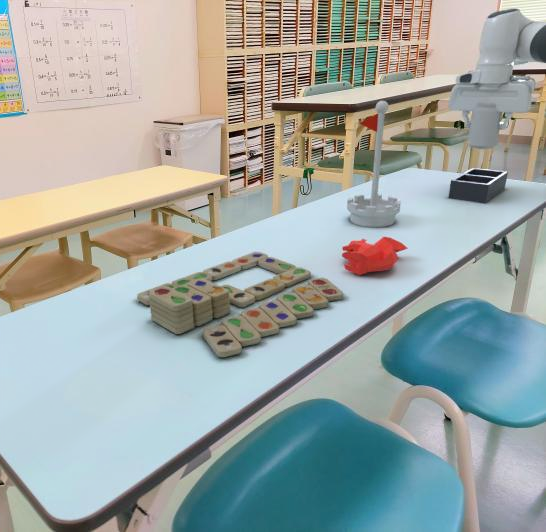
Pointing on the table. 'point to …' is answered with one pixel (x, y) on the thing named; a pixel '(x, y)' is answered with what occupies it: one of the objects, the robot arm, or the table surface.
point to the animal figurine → (372, 255)
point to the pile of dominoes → (238, 302)
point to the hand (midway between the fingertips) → (484, 128)
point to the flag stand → (374, 184)
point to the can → (484, 127)
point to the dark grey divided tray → (478, 185)
